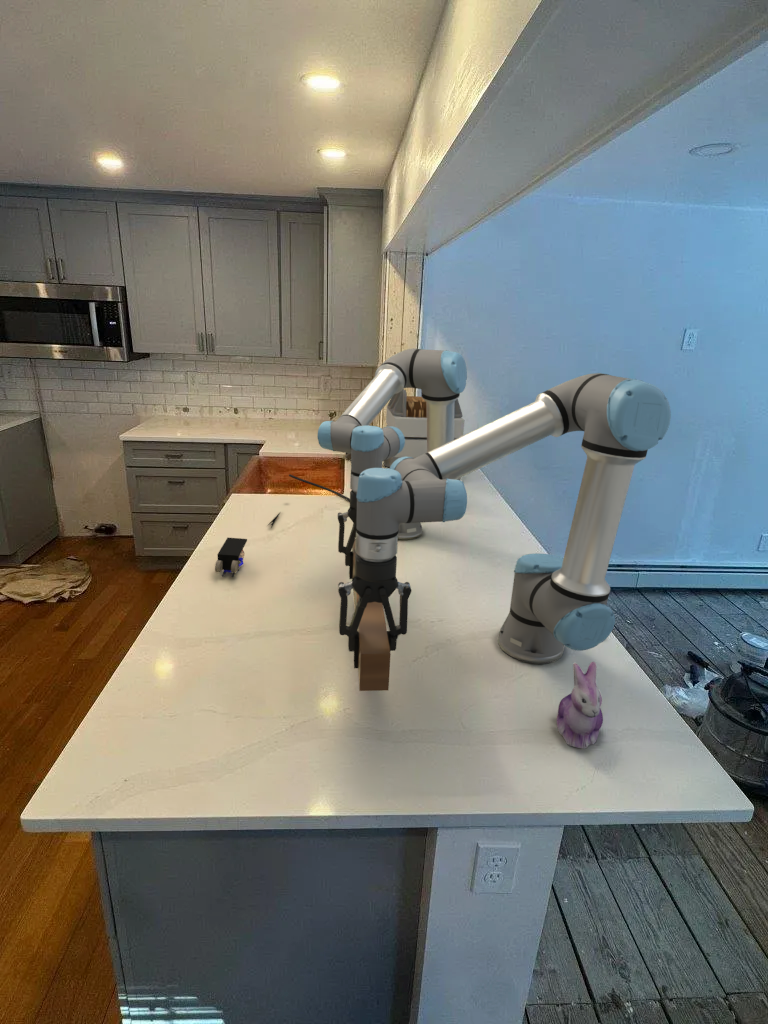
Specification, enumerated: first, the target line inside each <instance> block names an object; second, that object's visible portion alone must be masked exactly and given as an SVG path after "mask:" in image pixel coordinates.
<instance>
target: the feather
mask: <svg viewBox="0 0 768 1024" xmlns="http://www.w3.org/2000/svg"><path fill="white" fill-rule="evenodd" d="M280 514H281V512H279V513H278V514H276V516H275V517H274V518H273V519H272V520H271V521H270V522H269V523H267V526H269V525H270V529H272V528H273V526H274V525H275V522H276V521H277V519H278V517H279V515H280ZM267 526H266V527H267Z"/></svg>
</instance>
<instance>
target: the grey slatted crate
mask: <svg viewBox="0 0 768 1024" xmlns="http://www.w3.org/2000/svg"><path fill="white" fill-rule="evenodd" d="M407 394H408V393H407V390H406V389H405V388H403V390H402V391H401V392H399V393H397V394H394V395H393V396H392V398H391V399H390V400H389V401H388V403H387V404H386V413H385V414H386V415H385V423H386V426H385V427H390V426H393V427H396V428H398V429H399V430H401V432H402V433H403V435H404V438H405V445H404V448H403V450H402V451H401V452H400V453H398V454H397V455H396V456H394V457H391V458H389V459H387V460H385V461H383V462H382V465H383V466H384V467H386V468H390V466H391V465H392V463H393V462H394V461H395V460H397V459H398V458H401V457H413V458H416V457H418V456H421V455H423V454H425V453H427V405H426V401H425V400H424V399H423V398H422V397H421V396H415V395H414V396H413V395H412V396H411V395H407ZM464 429H465V419H464V418H463V411H462V408H461V405H460V402H459V398H458V399H457V400H455V404H454V440H455V439H457V438H459V437H461V436H463V435H464V431H465V430H464ZM458 480H461V478H459V479H458Z"/></svg>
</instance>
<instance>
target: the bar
mask: <svg viewBox="0 0 768 1024" xmlns="http://www.w3.org/2000/svg"><path fill="white" fill-rule="evenodd" d="M355 548H356V538H355V541H354V544H353V547H352V550H351V551H353V578H354V575H355V556H356V554H357V553H356V550H355ZM353 578H352V579H353ZM352 579H351V580H352ZM352 595H353V610H354V611H355V608H356V605H357V603H358V599H359V595H358V594H357V592H356V591H355V590H354V589H352ZM387 628H388V627H387V622H386V615H385V611H384V607H383V604H382V603H378V602H371V603H367V606H366V608H365V610H364V613H363V615H362V618H361V621H360V624H359V627H358V630H357V631H358V632H359V655H358V668H357V675H358V676H357V677H358V690H359V692H388V691H389V690H390V672H391V654H392V653H391V652H390V647H389V641H388V634H387V631H388V629H387Z"/></svg>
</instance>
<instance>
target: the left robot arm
mask: <svg viewBox="0 0 768 1024" xmlns="http://www.w3.org/2000/svg"><path fill="white" fill-rule="evenodd" d="M467 380H468V368H467V364H466V361H465V358H464V356H463V355H462V354H461V353H459V352H457V351H450V350H447V349H446V350H442V349H424V348H407V349H404V350H402V351H399V352H397V353H395V354H394V355H392V356H390V357H389V358H387V359H386V360H385V361H383V362H382V363H381V364H380V365H379V366H378V368H377V369H376V371H375V373H374V377H373V378H372V380H371V381H369V382H368V384H367V385H366V387H364V388H363V390H362V391H361V392H360V393H359V394H358V395H357V396H356V398H355V399H354V400H353V401H352V402H351V403H350V405H349V406H347V408H346V409H345V410H344V411H343V413H341V415H340V416H339V417H338V418H337V419H336V420H334V421H333V420H325V421H323V422H321V424H320V425H319V426H318V429H317V442H318V445H319V446H320V447H321V448H322V449H325V450H329V451H332V452H337V453H345V454H346V453H351V460H350V479H349V480H350V481H349V483H350V484H349V488H350V491H349V497H347V496H345V495H344V494H342V493H340V492H338V491H335V490H333V489H331V488H329V487H326V486H323V485H320V484H318V483H314V482H313V481H312V482H311V481H309V480H306V479H303V478H300V477H298V476H295V475H293V474H290V473H289V474H288V477H289V478H292V479H293V480H297V481H300V482H301V483H305V484H308V485H310V486H313V487H316V488H319V489H322V490H324V491H327V492H329V493H332V494H335V495H336V496H339V497H341V498H343V499H345V500H346V501H348V502H349V508H348V509H347V511H345V512H338V513H337V521H338V524H339V525H338V543H337V550H338V553H339V554H344V564H345V565H344V566H345V567H349V568H348V577H349V580H352V578H353V551H352V547H353V544H354V541H355V539H356V527H357V498H356V495H357V489H358V479H359V475H360V474H361V472H363V471H364V470H366V469H370V468H383V463H384V461H385V460H387V459H389V458H391V457H394V456H396V455H397V454H398V453H400V452H401V451H402V450H403V448H404V445H405V438H404V435H403V433H402V432H401V430H399V429H398V428H396V427H393V426H390V427H386V426H383V427H379V426H376V425H371V424H372V423H373V421H374V420H375V419H376V418H377V416H378V415H379V414H380V413H381V411H382V410H383V409H384V408H385V406H387V405H388V403H389V401H390V400H391V398H392V396H393V395H394V394H397V393H399V392H401V391H402V390H403V389H418V390H420V392H421V393H420V397H422V398H423V399H424V400H425V401H426V405H427V452H430V451H432V450H434V449H436V448H438V447H440V446H442V445H444V444H446V443H449V442H451V441H453V440H454V404H455V400H457V399H458V400H459V398H460V394H461V393H463V392H464V391H465V389H466V386H467ZM457 480H458V479H457ZM460 481H461V482H462V483H463V484H464V485H465V482H464V481H462V480H461V479H460ZM348 518H349V519H350V521H351V522H352V523H353V524H352V527H351V531H350V533H349V535H348V536H349V537H348V539H347V543H346V546H344V545H345V544H344V543H345V529H346V528H345V527H346V525H345V523H346V522H347V521H348ZM421 523H422V522H420V523H400V524H399V527H398V530H399V531H398V541H410V540H415V539H418V538H420V537H421V536H422V535H423V525H422V524H421Z"/></svg>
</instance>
